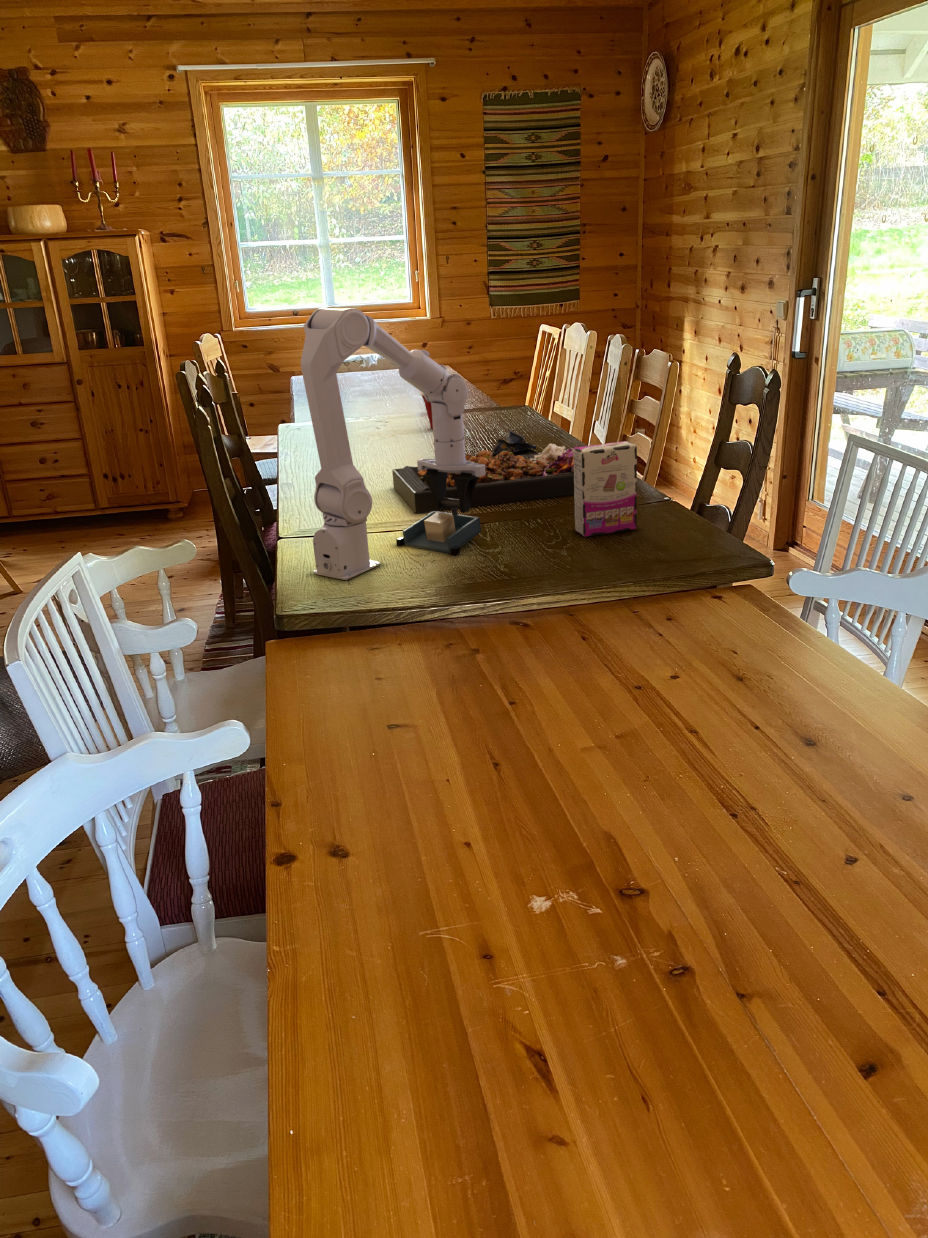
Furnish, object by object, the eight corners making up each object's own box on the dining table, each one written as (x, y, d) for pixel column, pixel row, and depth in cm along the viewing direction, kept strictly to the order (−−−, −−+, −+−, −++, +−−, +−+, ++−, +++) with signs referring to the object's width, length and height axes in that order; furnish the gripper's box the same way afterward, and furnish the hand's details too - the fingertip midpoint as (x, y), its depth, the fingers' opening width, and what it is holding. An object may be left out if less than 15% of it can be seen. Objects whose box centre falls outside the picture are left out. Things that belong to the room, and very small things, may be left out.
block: (444, 542, 171) (440, 523, 170) (427, 539, 174) (423, 520, 172) (456, 534, 174) (453, 514, 172) (439, 531, 176) (436, 512, 174)
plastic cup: (417, 428, 288) (414, 389, 283) (448, 423, 292) (446, 385, 287) (430, 433, 279) (427, 393, 274) (462, 428, 283) (460, 389, 278)
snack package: (496, 448, 254) (487, 456, 243) (499, 425, 251) (490, 432, 241) (538, 455, 252) (531, 463, 241) (541, 432, 249) (535, 439, 238)
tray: (451, 553, 168) (446, 522, 165) (404, 545, 174) (399, 515, 171) (482, 530, 175) (478, 500, 172) (437, 524, 181) (432, 494, 178)
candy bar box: (625, 523, 180) (627, 439, 174) (637, 529, 176) (638, 444, 169) (573, 530, 177) (572, 446, 171) (583, 537, 173) (582, 451, 167)
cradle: (455, 556, 167) (454, 548, 166) (396, 545, 174) (396, 538, 174) (460, 553, 168) (459, 546, 167) (401, 543, 176) (401, 536, 175)
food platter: (571, 467, 227) (571, 425, 223) (611, 489, 205) (612, 443, 201) (393, 487, 217) (390, 444, 213) (415, 513, 195) (412, 465, 191)
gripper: (493, 437, 169) (496, 508, 174) (431, 432, 177) (435, 500, 182) (471, 445, 164) (475, 518, 169) (408, 439, 172) (413, 509, 177)
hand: (453, 509), depth 175 cm, fingers closed on tray, 5 cm apart
